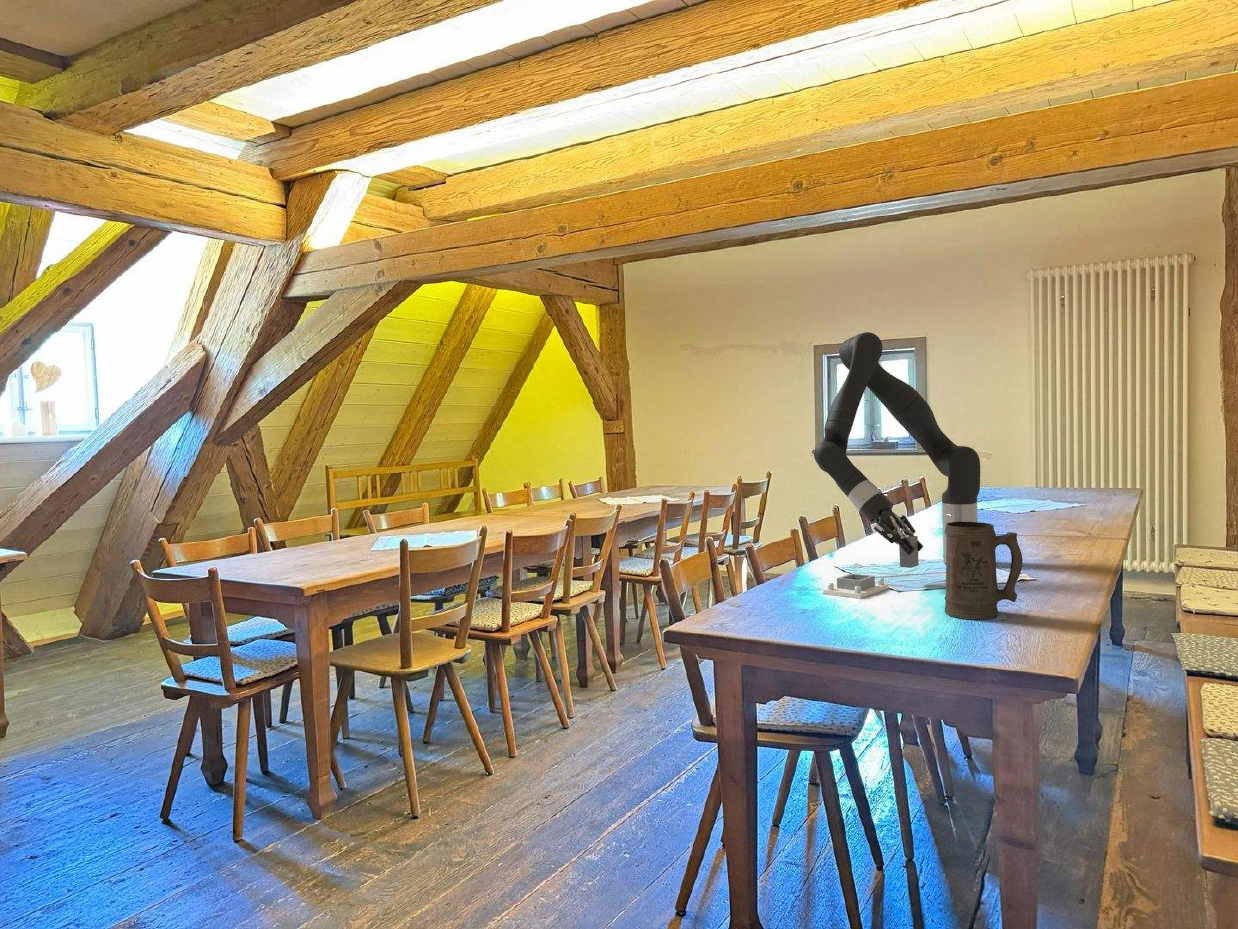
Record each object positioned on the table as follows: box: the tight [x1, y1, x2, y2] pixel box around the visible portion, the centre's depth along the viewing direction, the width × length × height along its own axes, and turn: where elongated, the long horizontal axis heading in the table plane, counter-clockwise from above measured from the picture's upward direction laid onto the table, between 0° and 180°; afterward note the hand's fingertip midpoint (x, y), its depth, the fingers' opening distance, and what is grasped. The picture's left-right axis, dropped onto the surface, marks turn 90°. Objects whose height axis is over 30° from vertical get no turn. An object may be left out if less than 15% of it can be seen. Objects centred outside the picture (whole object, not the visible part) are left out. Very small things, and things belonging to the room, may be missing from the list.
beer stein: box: [944, 521, 1023, 620], centre depth 180 cm, size 15×11×20 cm
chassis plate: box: [822, 573, 890, 600], centre depth 208 cm, size 14×10×4 cm
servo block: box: [898, 535, 920, 569], centre depth 212 cm, size 4×3×8 cm
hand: (916, 550), depth 211 cm, fingers closed on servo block, 4 cm apart
